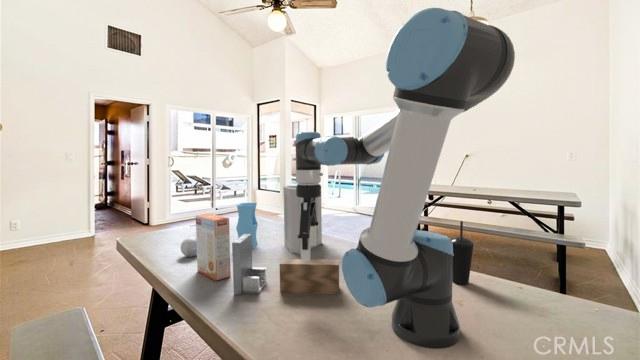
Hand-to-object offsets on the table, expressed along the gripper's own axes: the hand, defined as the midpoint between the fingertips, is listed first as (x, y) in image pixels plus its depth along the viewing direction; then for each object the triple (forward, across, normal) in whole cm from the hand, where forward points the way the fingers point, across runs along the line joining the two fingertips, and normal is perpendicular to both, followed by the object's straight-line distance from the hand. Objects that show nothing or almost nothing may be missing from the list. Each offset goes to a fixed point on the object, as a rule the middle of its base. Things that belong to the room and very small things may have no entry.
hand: (309, 252), depth 90 cm
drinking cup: (+12, +9, -48) cm, 51 cm away
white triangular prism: (+13, +45, +12) cm, 48 cm away
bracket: (+12, -1, +19) cm, 22 cm away
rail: (+12, 0, 0) cm, 12 cm away
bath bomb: (+13, +27, +55) cm, 62 cm away
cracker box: (+12, +9, +36) cm, 39 cm away
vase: (+13, +43, +36) cm, 57 cm away
